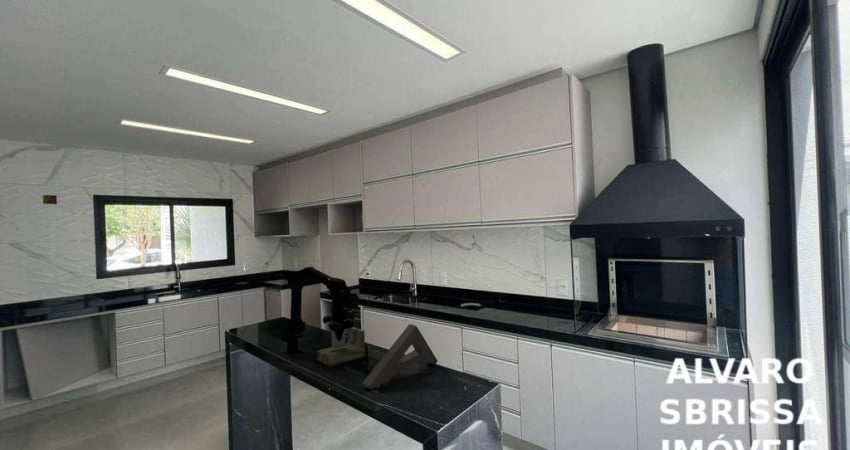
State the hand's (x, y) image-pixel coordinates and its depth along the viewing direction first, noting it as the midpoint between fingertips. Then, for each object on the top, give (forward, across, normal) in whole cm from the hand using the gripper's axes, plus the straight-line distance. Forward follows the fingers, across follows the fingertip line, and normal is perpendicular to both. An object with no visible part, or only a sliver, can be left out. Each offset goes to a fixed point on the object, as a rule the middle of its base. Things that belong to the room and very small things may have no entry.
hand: (338, 340), depth 160 cm
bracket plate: (+3, 0, 0) cm, 3 cm away
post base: (+8, 0, -2) cm, 9 cm away
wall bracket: (+9, -36, -9) cm, 38 cm away
